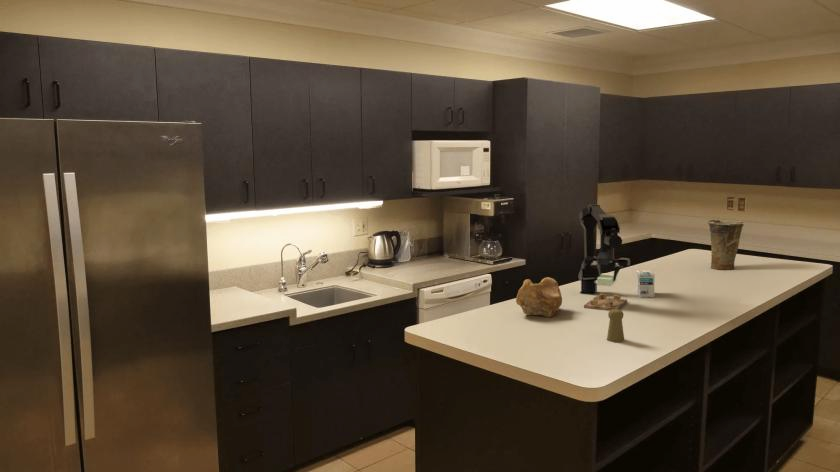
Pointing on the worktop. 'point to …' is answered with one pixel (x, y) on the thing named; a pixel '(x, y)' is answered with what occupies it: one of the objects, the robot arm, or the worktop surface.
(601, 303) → the walnut plate
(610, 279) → the pale green board
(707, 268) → the worktop surface
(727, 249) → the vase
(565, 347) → the worktop surface
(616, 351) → the worktop surface
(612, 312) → the olive tapered pillar
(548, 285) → the rough brown rock
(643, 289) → the light bulb box
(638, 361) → the worktop surface
